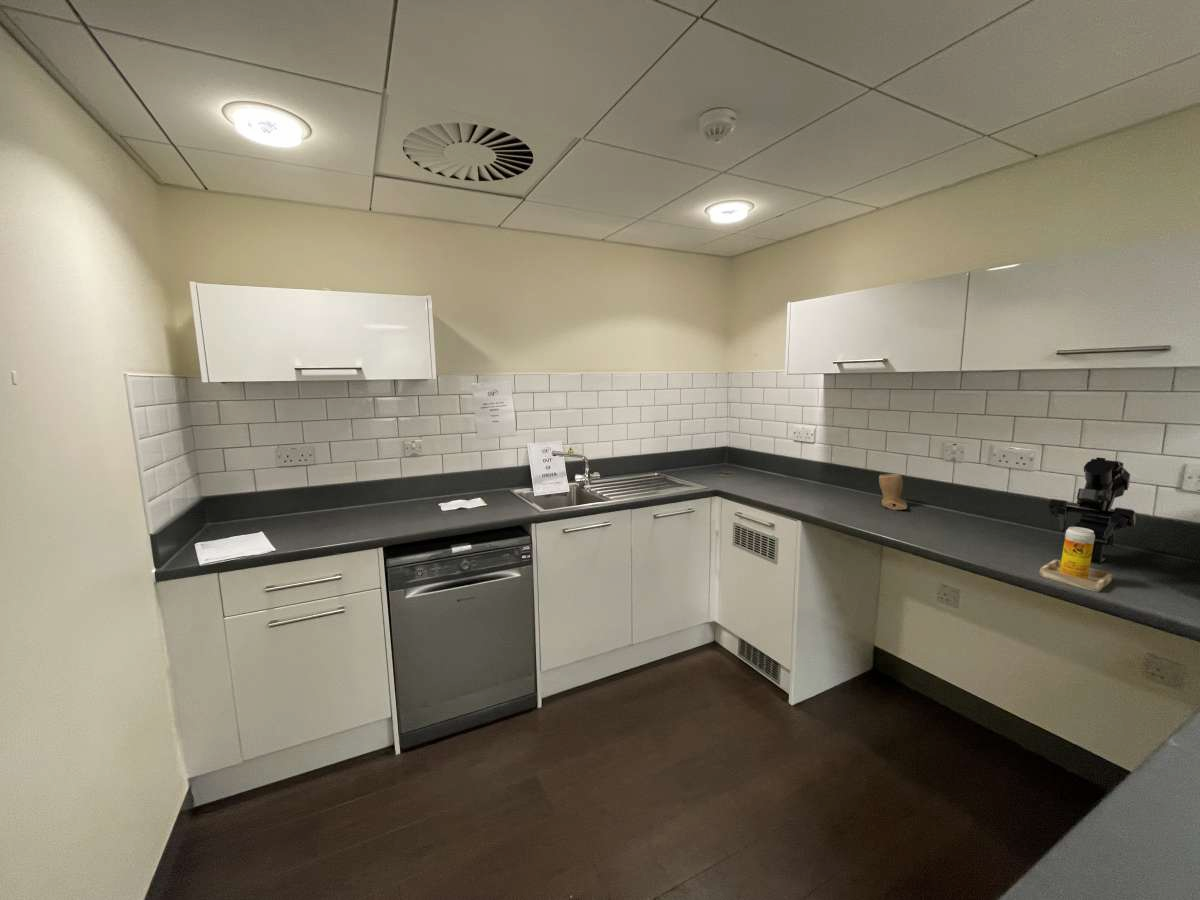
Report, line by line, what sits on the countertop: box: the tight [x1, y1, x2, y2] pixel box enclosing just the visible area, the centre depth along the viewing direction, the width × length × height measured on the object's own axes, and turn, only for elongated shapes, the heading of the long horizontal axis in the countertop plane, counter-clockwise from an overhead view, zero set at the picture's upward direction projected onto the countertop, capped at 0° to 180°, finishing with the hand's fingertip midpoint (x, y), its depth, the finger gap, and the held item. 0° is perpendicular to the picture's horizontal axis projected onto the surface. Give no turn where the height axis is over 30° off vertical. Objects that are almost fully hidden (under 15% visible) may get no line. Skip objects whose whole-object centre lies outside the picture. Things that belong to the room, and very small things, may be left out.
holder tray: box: [1038, 559, 1114, 593], centre depth 145 cm, size 13×13×2 cm
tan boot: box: [878, 473, 908, 511], centre depth 220 cm, size 15×12×15 cm
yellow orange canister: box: [1060, 526, 1095, 579], centre depth 143 cm, size 6×6×15 cm
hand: (1082, 535), depth 146 cm, fingers open, 9 cm apart
